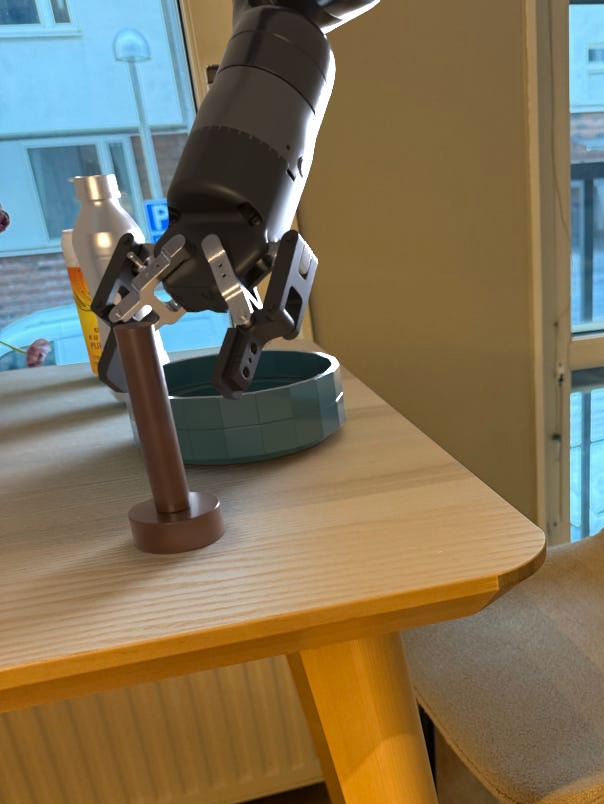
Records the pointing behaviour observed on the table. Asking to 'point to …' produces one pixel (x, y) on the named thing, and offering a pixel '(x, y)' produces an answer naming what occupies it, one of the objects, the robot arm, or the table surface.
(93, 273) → the silver bottle
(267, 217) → the robot arm
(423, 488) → the table surface
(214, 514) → the brown rod on disc
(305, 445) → the bowl
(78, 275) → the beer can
